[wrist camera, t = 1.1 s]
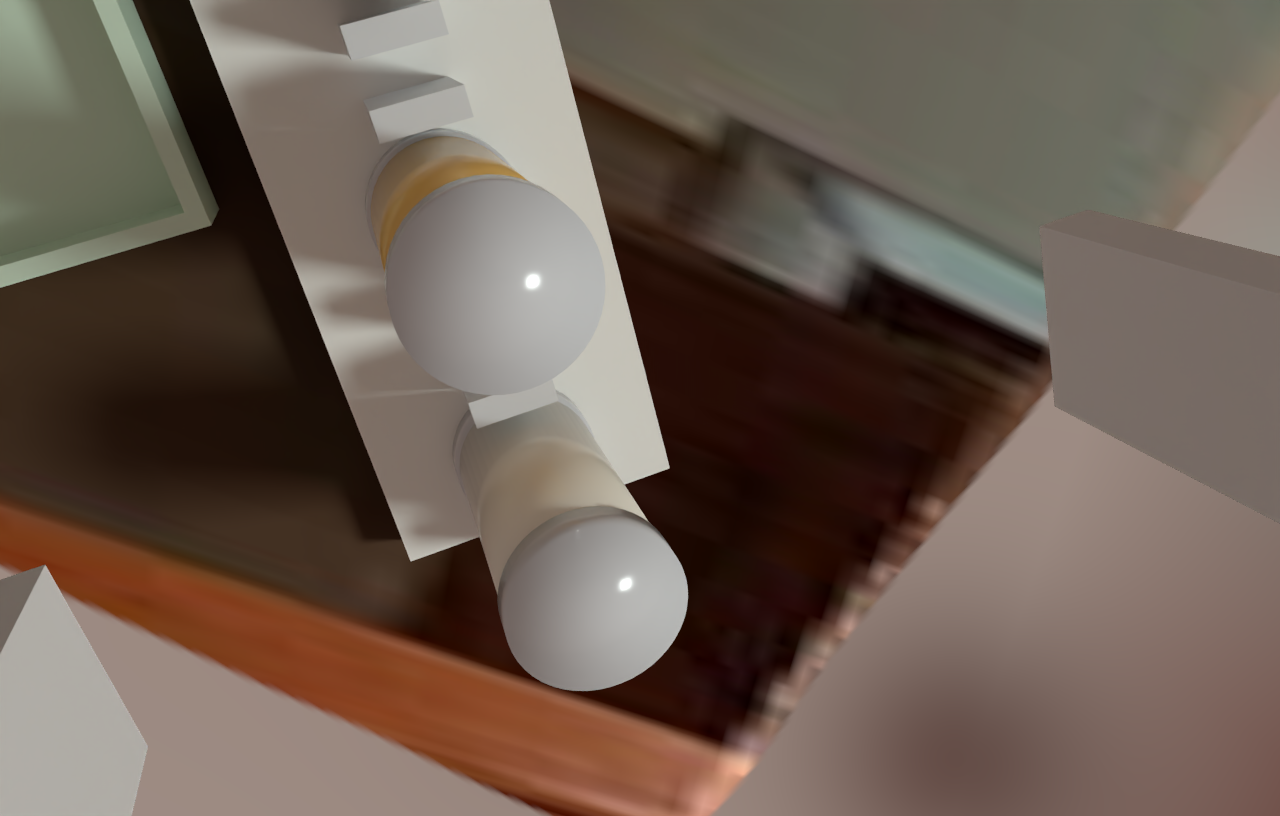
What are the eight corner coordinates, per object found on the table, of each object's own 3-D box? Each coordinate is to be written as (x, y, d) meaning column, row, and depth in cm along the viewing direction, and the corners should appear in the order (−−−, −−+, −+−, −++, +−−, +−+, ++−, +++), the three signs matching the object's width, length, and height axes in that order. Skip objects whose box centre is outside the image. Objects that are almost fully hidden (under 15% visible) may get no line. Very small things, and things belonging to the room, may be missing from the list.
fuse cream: (433, 409, 32) (480, 566, 23) (568, 364, 33) (665, 498, 24) (476, 529, 34) (534, 717, 25) (603, 483, 34) (704, 650, 25)
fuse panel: (120, -192, 26) (79, -234, 21) (467, -270, 27) (497, -324, 23) (411, 552, 35) (426, 631, 30) (659, 463, 36) (708, 527, 32)
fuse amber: (342, 153, 29) (354, 219, 20) (494, 109, 29) (574, 154, 20) (395, 301, 30) (428, 423, 21) (537, 256, 31) (627, 356, 22)
